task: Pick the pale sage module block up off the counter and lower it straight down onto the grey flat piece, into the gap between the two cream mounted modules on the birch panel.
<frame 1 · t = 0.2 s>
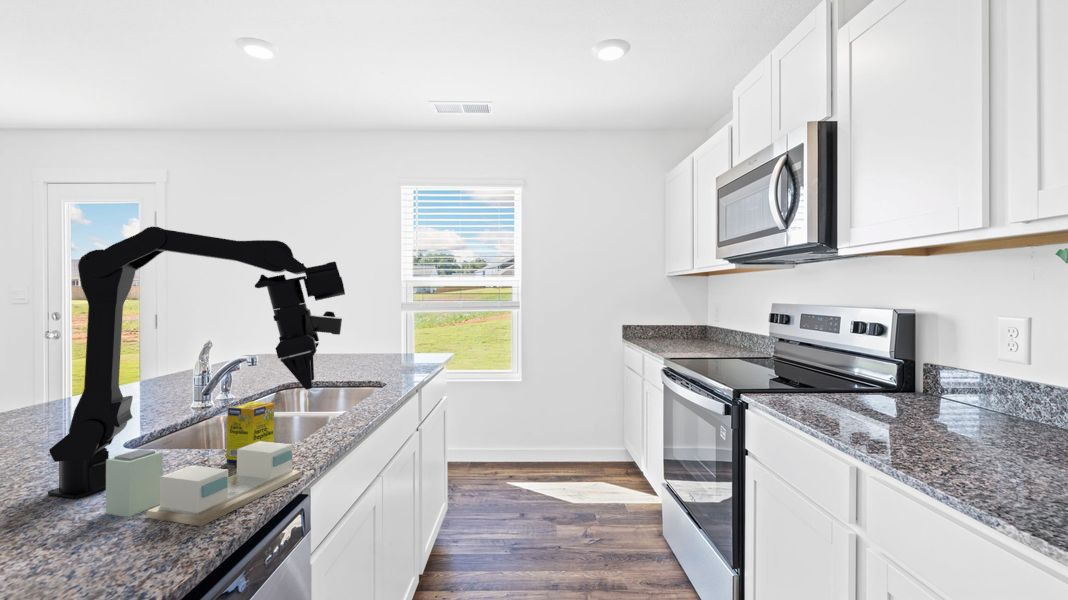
hand: (310, 384, 95), 15 cm above the counter, tool pointing down, fingers open, 9 cm apart
loose module: (134, 508, 75), on the counter
supplement box: (250, 460, 97), on the counter
mounted modules: (233, 472, 80), on the grey flat piece, point 4 cm above the counter
mounting panel: (232, 494, 80), on the counter
grey flat piece: (232, 487, 80), on the mounting panel, point 1 cm above the counter
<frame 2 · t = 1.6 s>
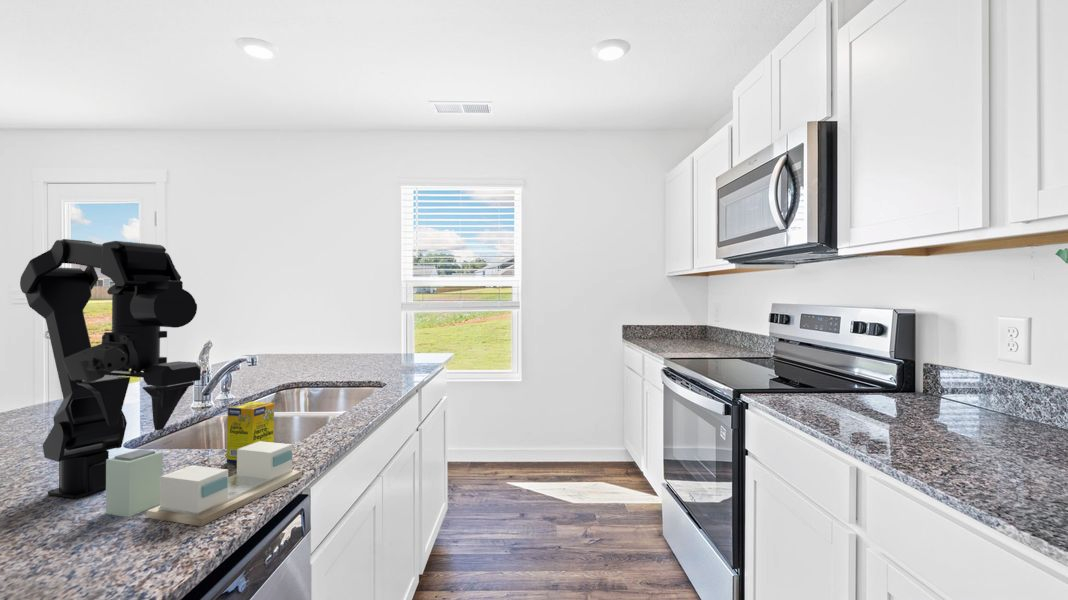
hand: (135, 427, 75), 12 cm above the counter, tool pointing down, fingers open, 9 cm apart
nothing on the counter moved.
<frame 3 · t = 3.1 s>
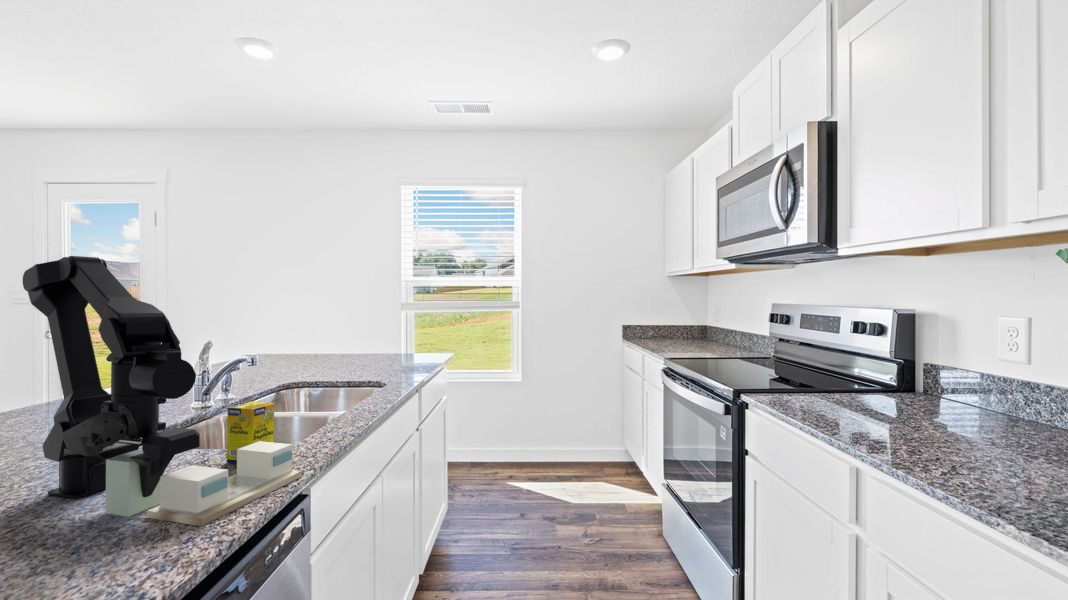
hand: (134, 494, 75), 2 cm above the counter, tool pointing down, fingers closed on loose module, 4 cm apart
loose module: (134, 508, 75), on the counter, touching gripper
everything else where it was.
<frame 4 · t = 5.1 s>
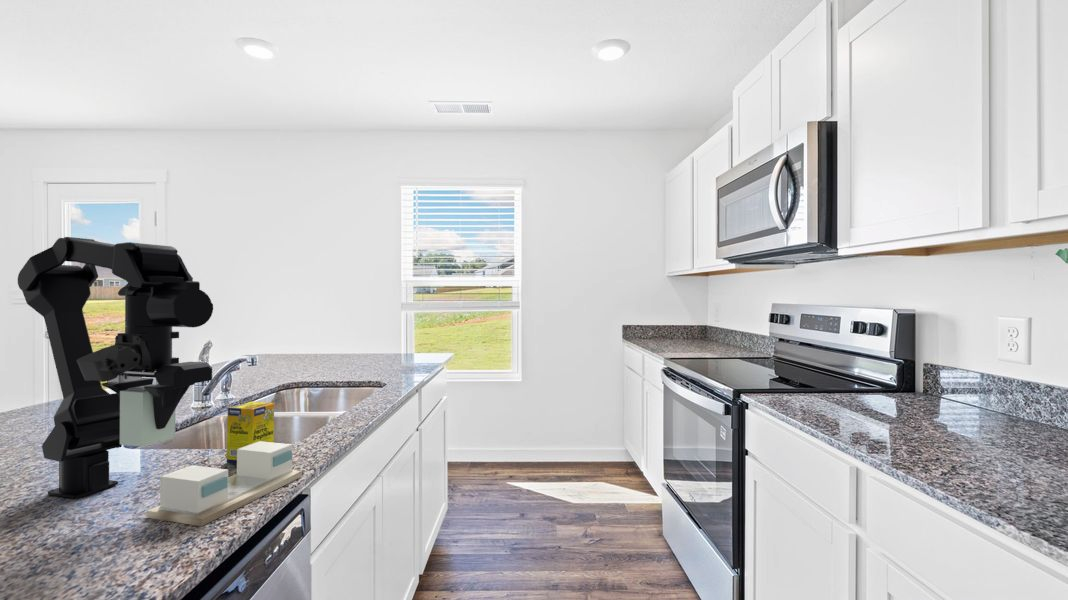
hand: (148, 427, 75), 12 cm above the counter, tool pointing down, fingers closed on loose module, 4 cm apart
loose module: (148, 440, 75), point 10 cm above the counter, touching gripper
everything else where it was.
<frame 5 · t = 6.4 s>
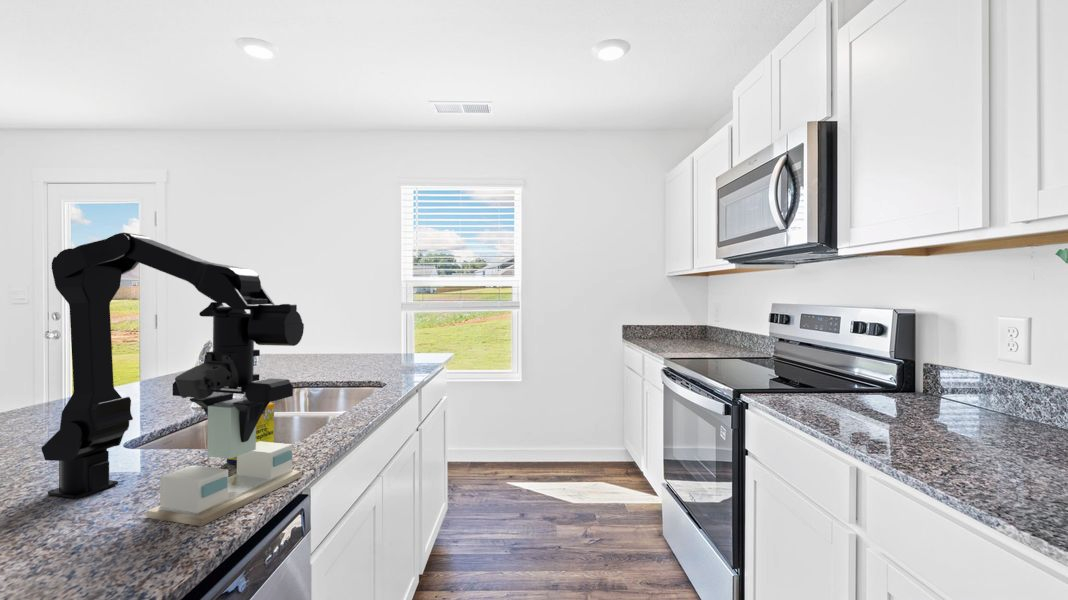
hand: (232, 440, 80), 9 cm above the counter, tool pointing down, fingers closed on loose module, 4 cm apart
loose module: (232, 452, 80), point 7 cm above the counter, touching gripper
everything else where it was.
when the fingers open (5 cm above the counter, at t = 7.4 s): loose module drops 2 cm, resting on grey flat piece.
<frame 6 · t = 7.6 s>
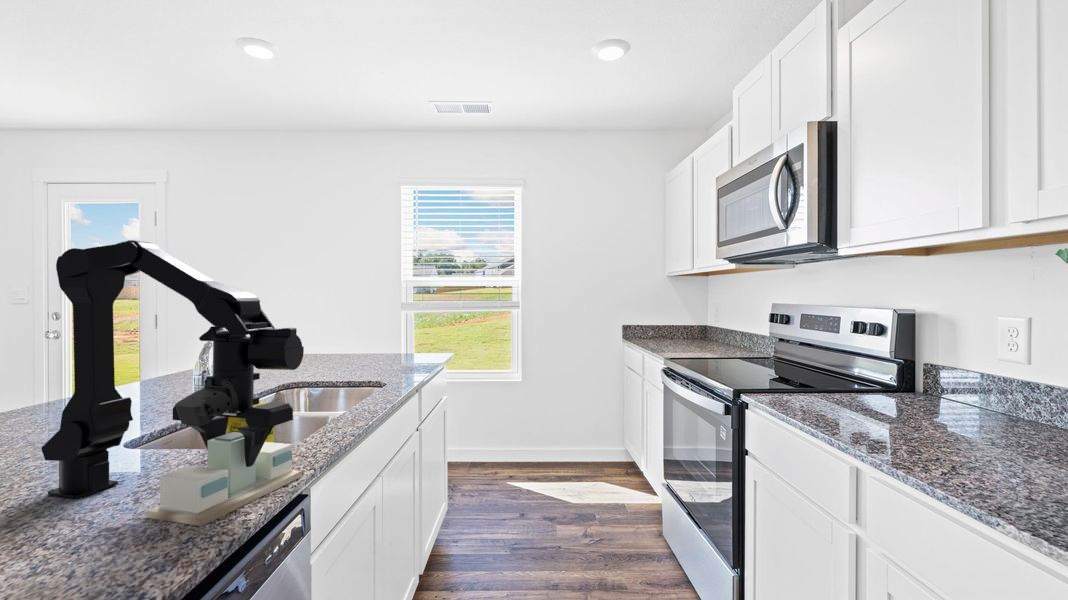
hand: (232, 464, 80), 5 cm above the counter, tool pointing down, fingers open, 6 cm apart
loose module: (231, 486, 80), point 1 cm above the counter, touching grey flat piece
everything else where it was.
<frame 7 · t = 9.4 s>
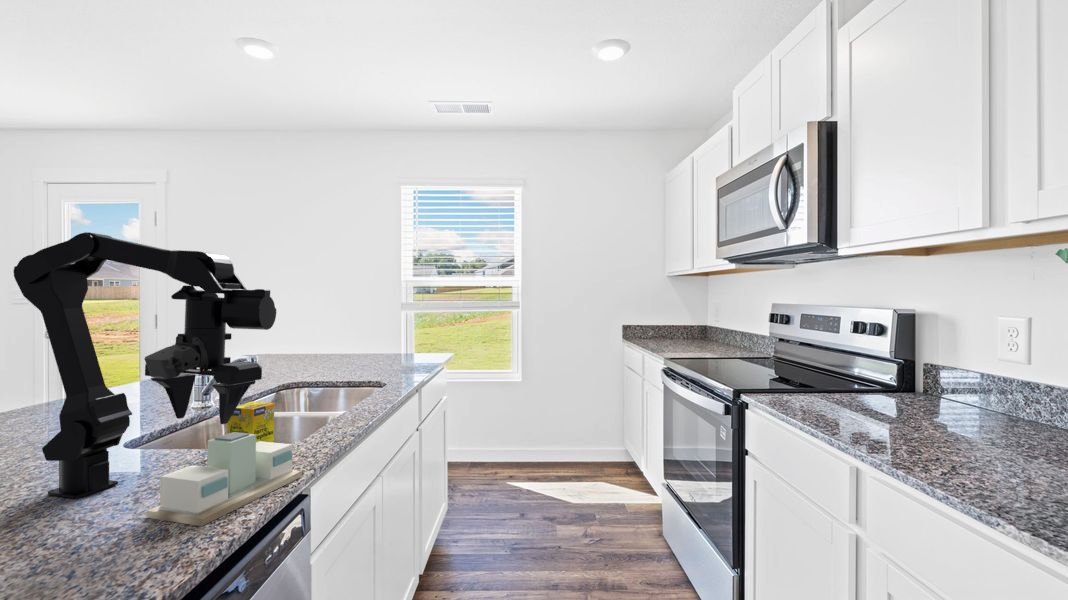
hand: (202, 420, 82), 12 cm above the counter, tool pointing down, fingers open, 9 cm apart
nothing on the counter moved.
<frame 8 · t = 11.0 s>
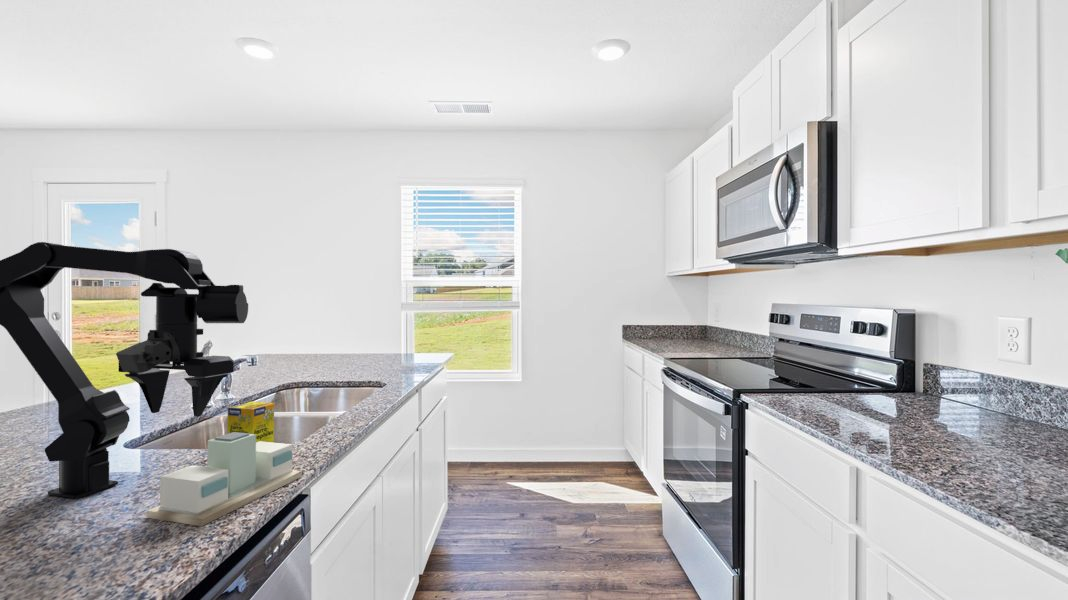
hand: (176, 414, 84), 12 cm above the counter, tool pointing down, fingers open, 9 cm apart
nothing on the counter moved.
at the end: loose module 0.1 cm off-centre on the grey flat piece, point 1.4 cm above the grey flat piece's base; loose module tilted 0°; the gripper is holding nothing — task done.
